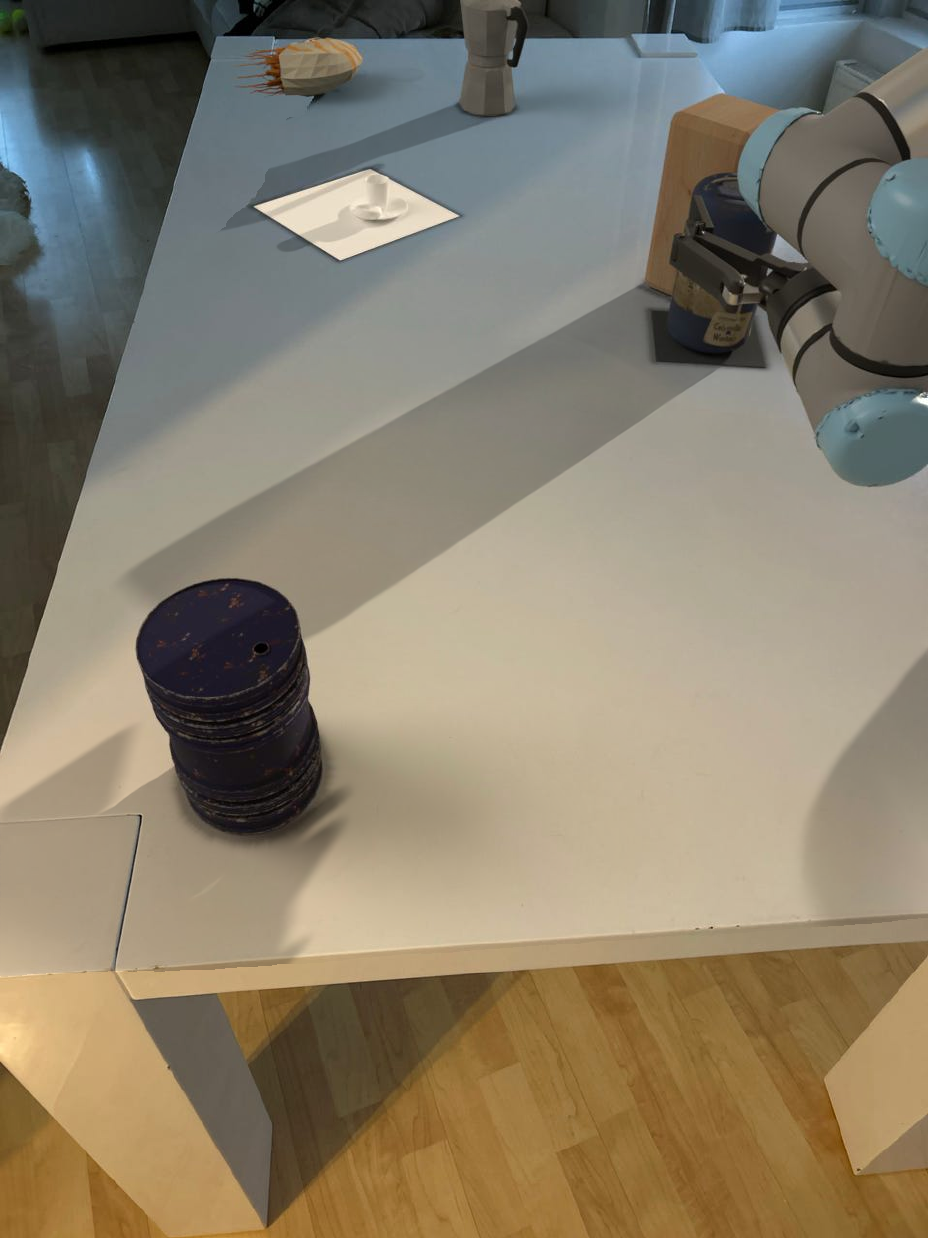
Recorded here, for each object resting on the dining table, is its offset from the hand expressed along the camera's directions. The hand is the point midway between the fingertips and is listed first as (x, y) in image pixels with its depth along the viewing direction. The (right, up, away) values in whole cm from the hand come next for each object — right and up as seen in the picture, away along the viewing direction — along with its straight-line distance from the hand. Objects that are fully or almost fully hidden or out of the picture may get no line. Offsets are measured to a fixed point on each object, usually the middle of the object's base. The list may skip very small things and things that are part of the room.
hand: (767, 210), depth 88 cm
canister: (0, -6, +21) cm, 21 cm away
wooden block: (+1, +3, +29) cm, 29 cm away
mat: (0, -6, +21) cm, 21 cm away
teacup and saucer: (-43, +18, +41) cm, 62 cm away
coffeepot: (-24, +46, +68) cm, 85 cm away
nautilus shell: (-56, +51, +72) cm, 104 cm away
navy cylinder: (-43, -49, -20) cm, 68 cm away
